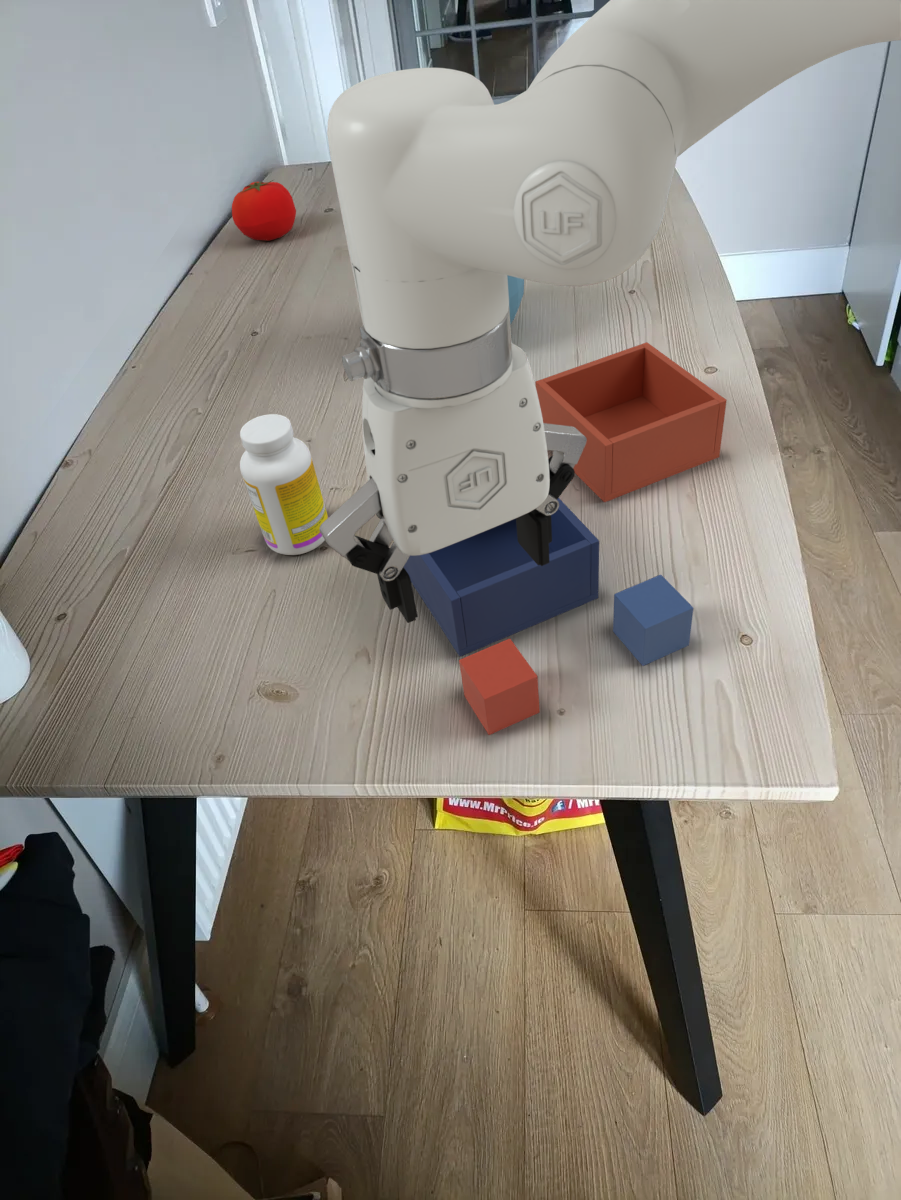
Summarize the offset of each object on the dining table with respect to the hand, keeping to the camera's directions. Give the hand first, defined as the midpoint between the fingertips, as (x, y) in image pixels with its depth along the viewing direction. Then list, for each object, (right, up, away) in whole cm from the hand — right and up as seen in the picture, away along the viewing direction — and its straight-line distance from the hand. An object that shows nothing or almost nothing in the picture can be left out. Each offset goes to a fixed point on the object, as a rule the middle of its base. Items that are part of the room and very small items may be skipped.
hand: (469, 580), depth 58 cm
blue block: (+15, -5, +15) cm, 22 cm away
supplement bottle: (-16, +5, +30) cm, 35 cm away
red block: (+3, -10, +12) cm, 16 cm away
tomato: (-31, +58, +85) cm, 107 cm away
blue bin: (+3, 0, +22) cm, 23 cm away
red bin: (+17, +15, +35) cm, 41 cm away
